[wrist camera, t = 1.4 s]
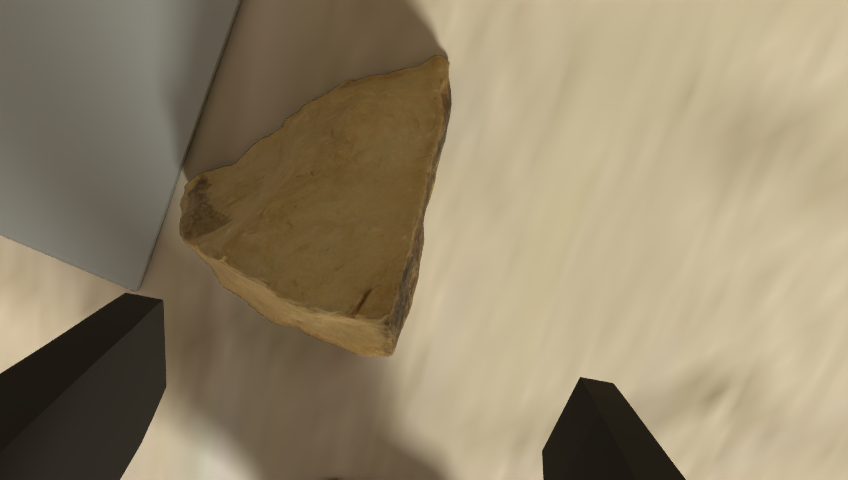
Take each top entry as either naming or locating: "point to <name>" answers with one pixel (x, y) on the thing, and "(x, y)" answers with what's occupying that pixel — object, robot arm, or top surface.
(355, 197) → the rock
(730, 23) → the top surface
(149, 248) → the mat
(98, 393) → the robot arm
